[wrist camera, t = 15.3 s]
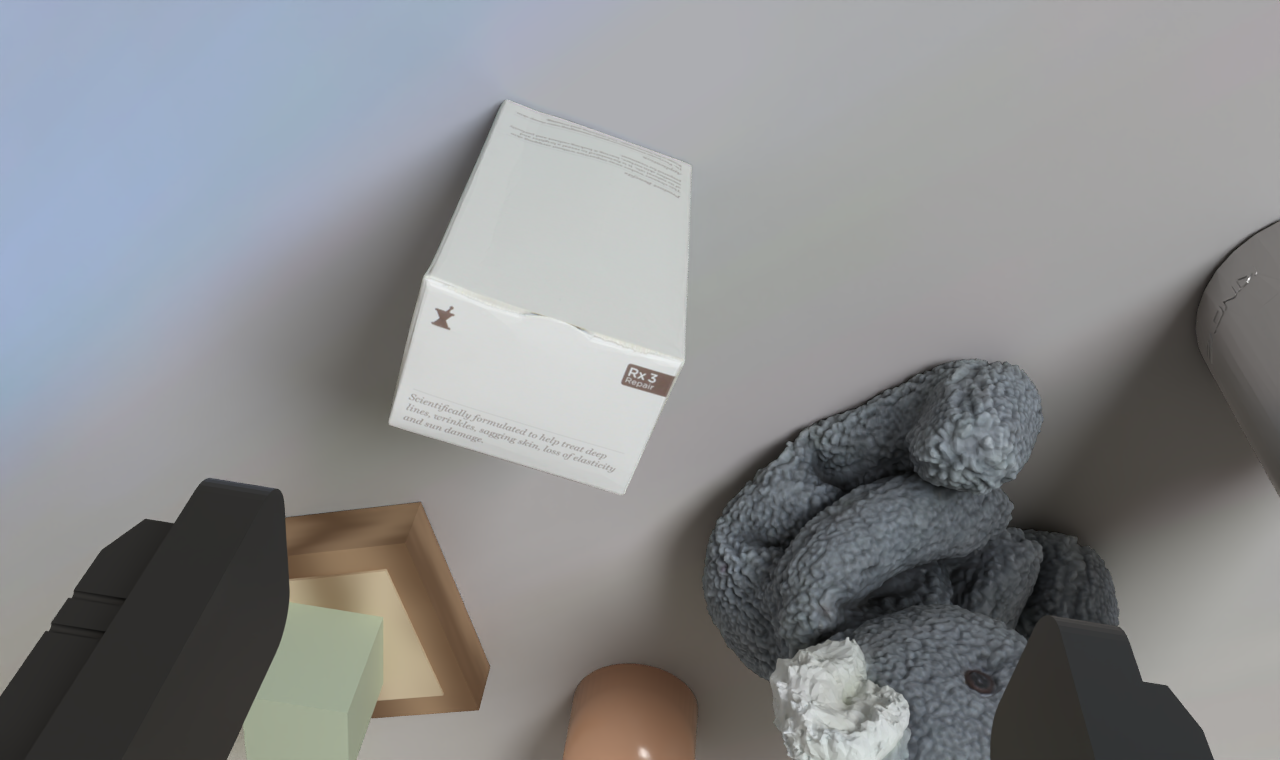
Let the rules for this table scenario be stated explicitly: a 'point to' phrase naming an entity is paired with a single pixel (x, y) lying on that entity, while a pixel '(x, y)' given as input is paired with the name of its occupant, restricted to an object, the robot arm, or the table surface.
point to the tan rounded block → (632, 716)
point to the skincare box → (553, 303)
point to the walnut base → (393, 602)
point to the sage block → (318, 687)
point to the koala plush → (897, 570)
